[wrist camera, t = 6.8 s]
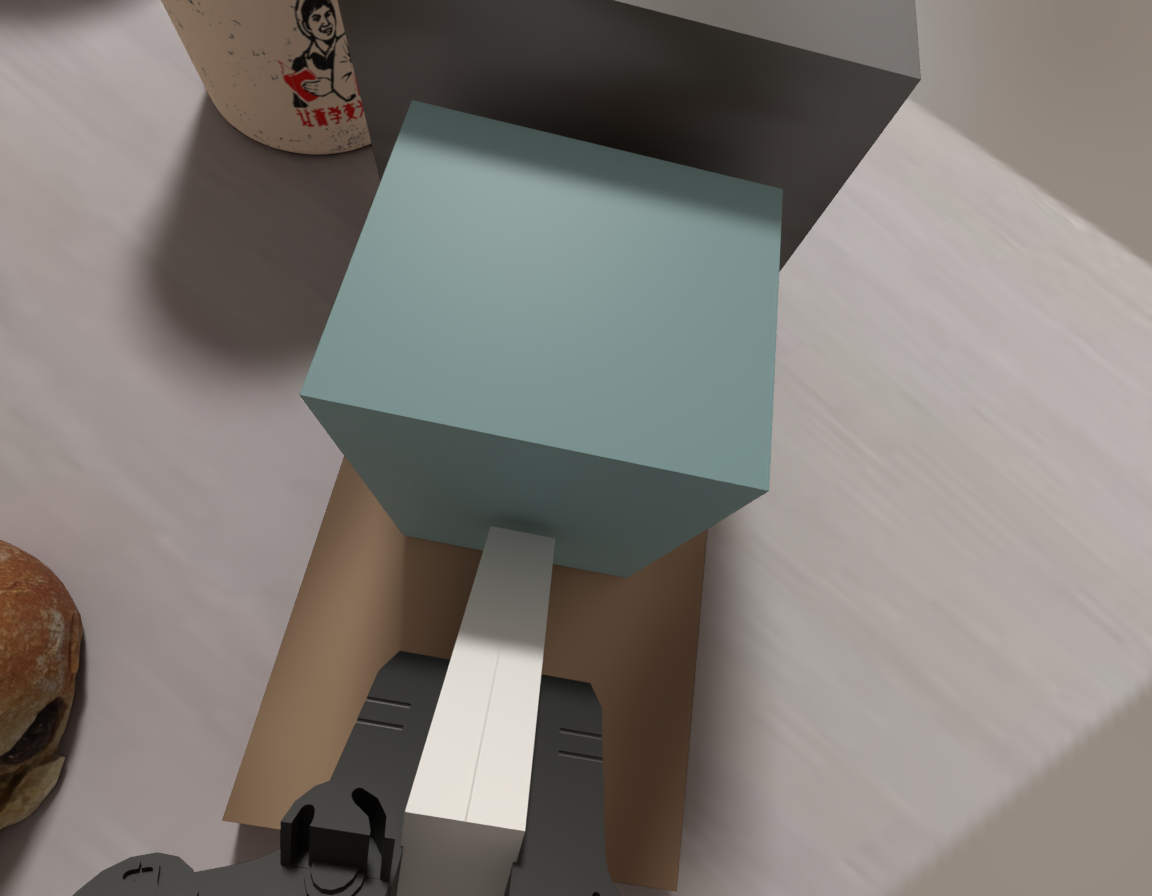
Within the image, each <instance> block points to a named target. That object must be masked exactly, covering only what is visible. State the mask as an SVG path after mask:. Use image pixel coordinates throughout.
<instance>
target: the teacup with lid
mask: <svg viewBox="0 0 1152 896" xmlns="http://www.w3.org/2000/svg"><path fill="white" fill-rule="evenodd" d="M161 1H162V3H163V5H164V7H165V9H166V11H167V13H168V15H169V17H170V19H171V21H172V23H173V25H174V27H175V29H176V31H177V33H178V35H179V37H180V39H181V41H182V42H183V44H184V46H185V48H186V50H187V52H188V54H189V56H190V58H191V60H192V62H193V64H194V66H195V68H196V70H197V72H198V74H199V76H200V78H201V80H202V82H203V84H204V86H205V88H206V90H207V92H208V94H209V96H210V98H211V100H212V102H213V103H214V105H215V106H216V108H217V109H218V111H219V112H220V113H221V114H222V116H223V117H224V118H225V119H226V120H227V121H228V122H229V123H230V124H231V125H233V126H234V127H235V128H236V129H238V130H239V131H240V132H242V133H243V134H245V135H246V136H248V137H250V138H252V139H254V140H256V141H258V142H260V143H263V144H265V145H267V146H270V147H273V148H276V149H280V150H284V151H288V152H294V153H302V154H333V153H341V152H346V151H351V150H354V149H358V148H361V147H364V146H366V145H369V144H371V139H370V135H369V131H368V127H367V122H366V118H365V114H364V110H363V106H362V102H361V97H360V93H359V89H358V85H357V81H356V76H355V72H354V68H353V64H352V60H351V56H350V51H349V47H348V43H347V39H346V35H345V30H344V26H343V22H342V18H341V14H340V10H339V5H338V1H337V0H161Z"/></svg>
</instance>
